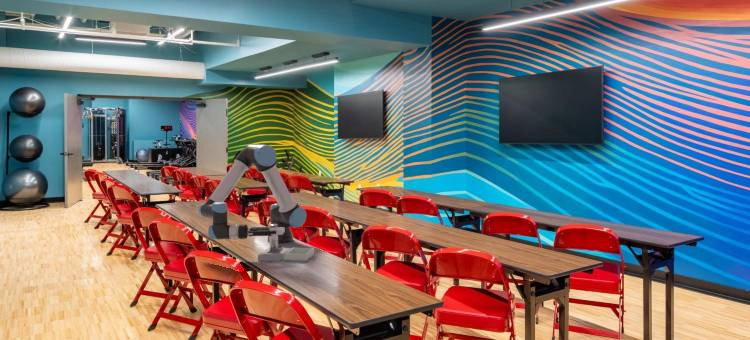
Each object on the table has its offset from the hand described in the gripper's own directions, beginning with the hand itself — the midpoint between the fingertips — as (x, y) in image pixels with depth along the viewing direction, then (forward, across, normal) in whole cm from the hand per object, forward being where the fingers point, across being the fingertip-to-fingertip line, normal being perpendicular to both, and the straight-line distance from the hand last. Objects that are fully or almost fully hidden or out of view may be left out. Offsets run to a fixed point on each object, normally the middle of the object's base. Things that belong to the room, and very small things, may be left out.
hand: (283, 230), depth 258 cm
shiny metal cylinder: (-5, 0, -10) cm, 12 cm away
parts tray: (+8, +3, -14) cm, 17 cm away
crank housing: (-5, 0, -14) cm, 15 cm away
